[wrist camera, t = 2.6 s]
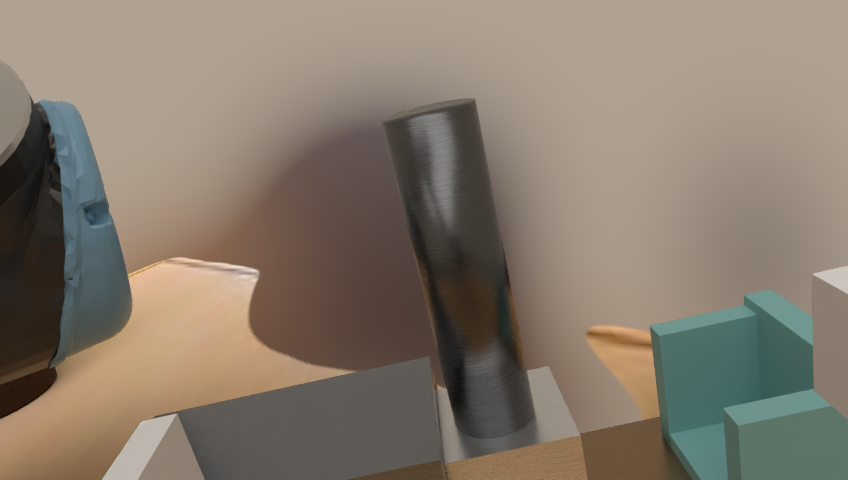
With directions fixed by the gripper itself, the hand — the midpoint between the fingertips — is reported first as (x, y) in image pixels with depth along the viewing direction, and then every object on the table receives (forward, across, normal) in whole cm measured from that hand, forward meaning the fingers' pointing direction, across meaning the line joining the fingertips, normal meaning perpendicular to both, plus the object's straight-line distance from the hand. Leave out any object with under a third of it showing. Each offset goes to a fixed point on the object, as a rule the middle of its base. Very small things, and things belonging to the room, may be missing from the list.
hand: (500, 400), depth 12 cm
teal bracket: (+10, +11, -13) cm, 19 cm away
